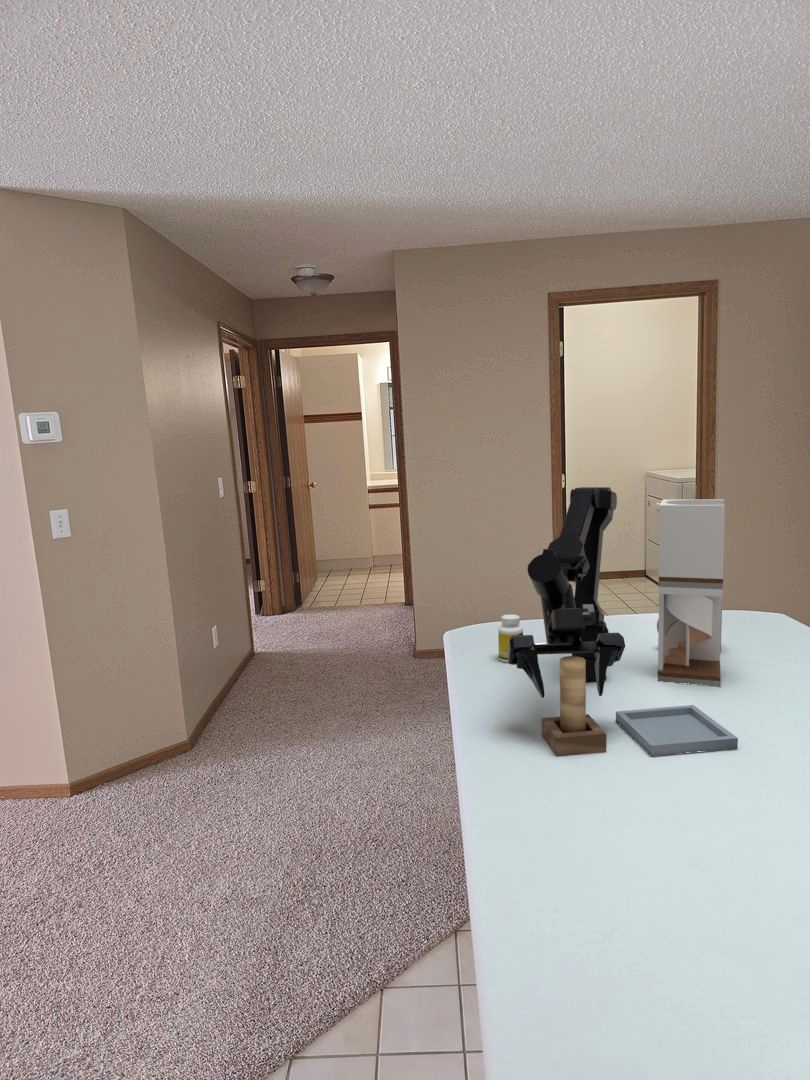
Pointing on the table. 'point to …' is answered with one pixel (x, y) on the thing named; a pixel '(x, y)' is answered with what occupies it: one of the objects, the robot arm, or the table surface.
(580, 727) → the oak dowel
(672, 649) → the spiral staircase model
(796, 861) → the table surface
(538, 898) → the table surface
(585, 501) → the robot arm
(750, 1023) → the table surface
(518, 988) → the table surface
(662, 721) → the plastic tray
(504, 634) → the supplement bottle
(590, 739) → the walnut holder
